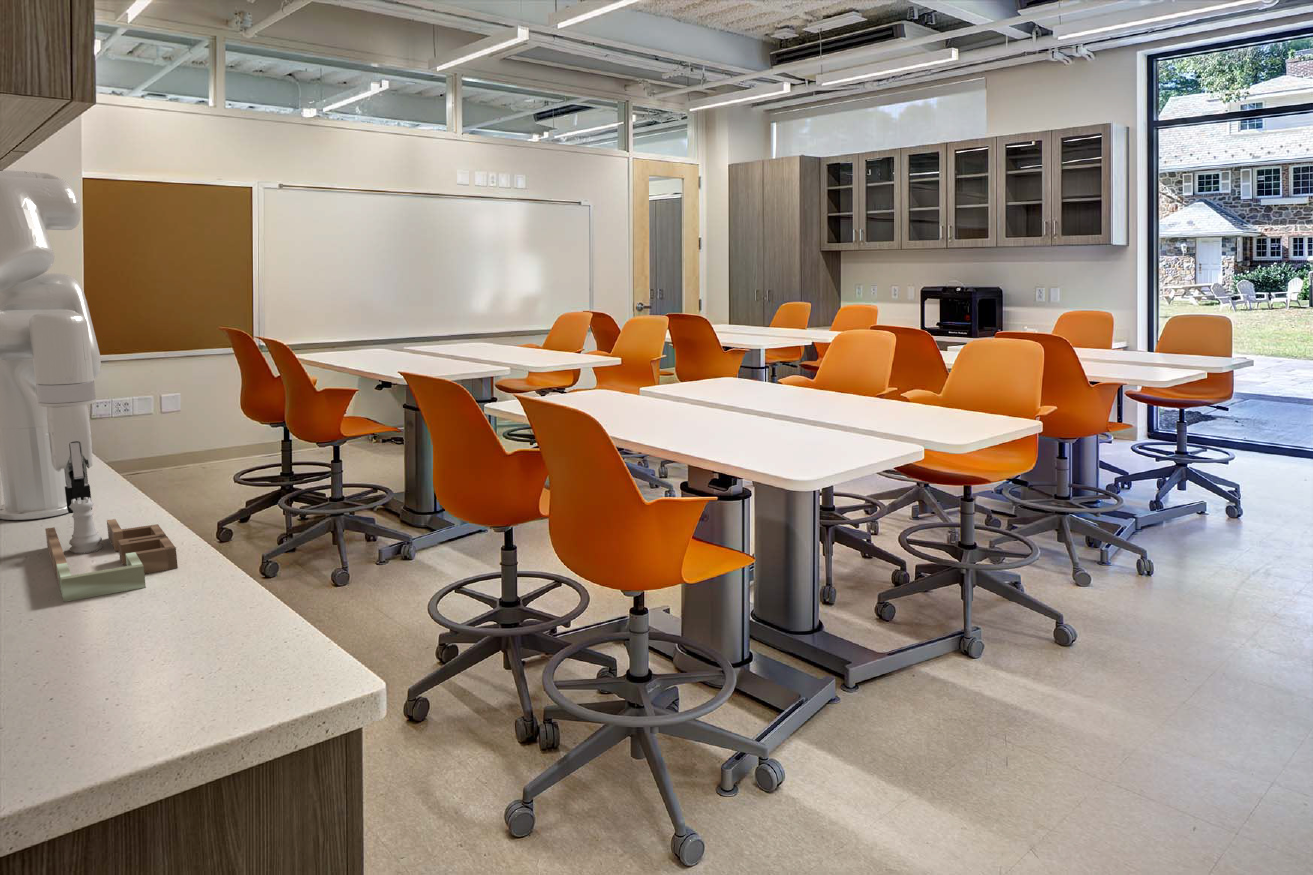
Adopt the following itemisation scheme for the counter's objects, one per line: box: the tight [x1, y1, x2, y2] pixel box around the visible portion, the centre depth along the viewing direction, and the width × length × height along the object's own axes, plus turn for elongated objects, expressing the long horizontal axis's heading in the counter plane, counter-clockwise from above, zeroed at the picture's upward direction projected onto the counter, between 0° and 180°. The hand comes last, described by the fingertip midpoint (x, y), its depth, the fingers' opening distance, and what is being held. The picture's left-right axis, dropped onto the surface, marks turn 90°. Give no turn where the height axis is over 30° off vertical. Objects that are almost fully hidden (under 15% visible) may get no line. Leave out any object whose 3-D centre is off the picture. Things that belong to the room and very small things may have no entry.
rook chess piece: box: [68, 497, 104, 555], centre depth 141 cm, size 4×4×8 cm
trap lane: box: [44, 518, 179, 602], centre depth 135 cm, size 29×14×3 cm, turn 37°
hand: (80, 510), depth 144 cm, fingers closed
